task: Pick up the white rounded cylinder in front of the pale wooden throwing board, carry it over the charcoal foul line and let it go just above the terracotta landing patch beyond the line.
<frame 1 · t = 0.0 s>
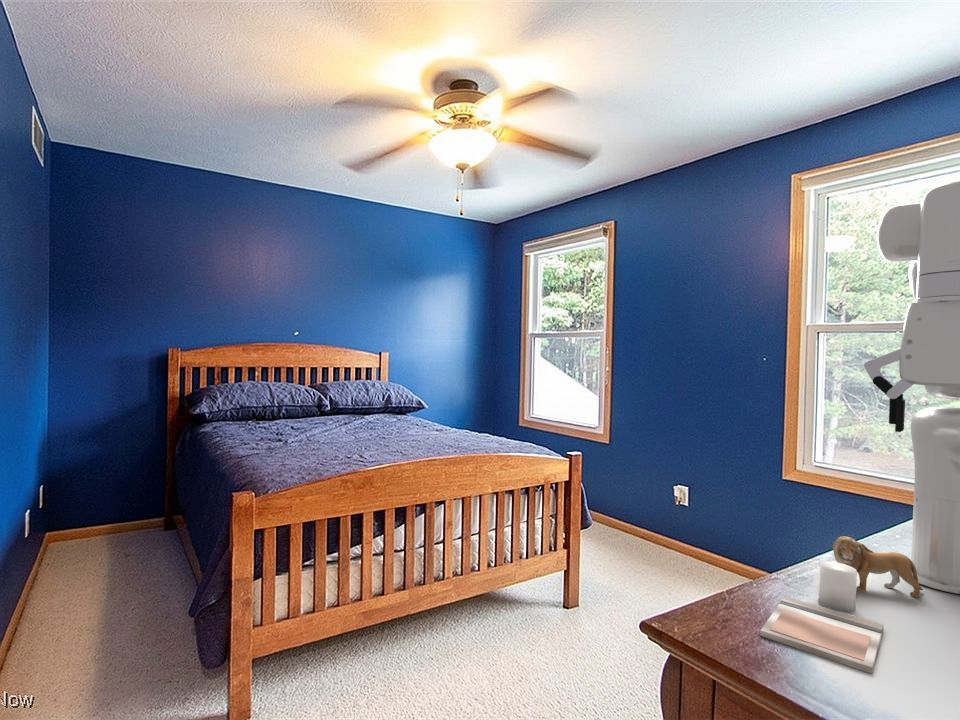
hand: (950, 435, 64), 31 cm above the dresser, tool pointing down, fingers open, 9 cm apart
lion figurine: (874, 591, 94), on the dresser
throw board: (822, 632, 79), on the dresser
white rounded cylinder: (836, 603, 88), on the dresser
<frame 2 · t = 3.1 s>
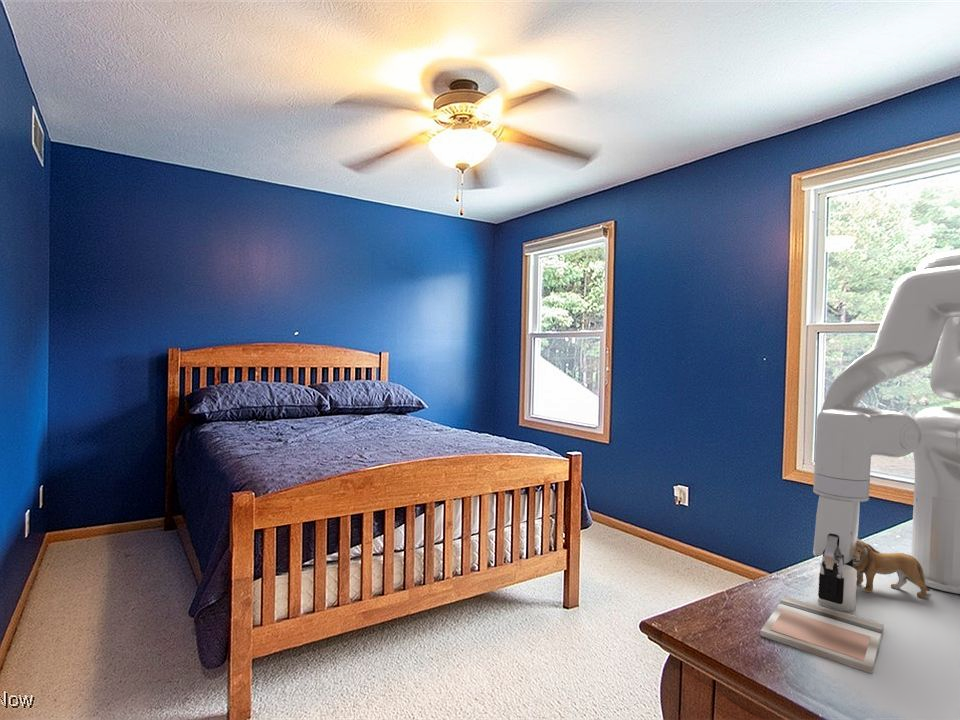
hand: (835, 591, 88), 2 cm above the dresser, tool pointing down, fingers open, 9 cm apart
lion figurine: (881, 592, 93), on the dresser, touching gripper
everything else where it was.
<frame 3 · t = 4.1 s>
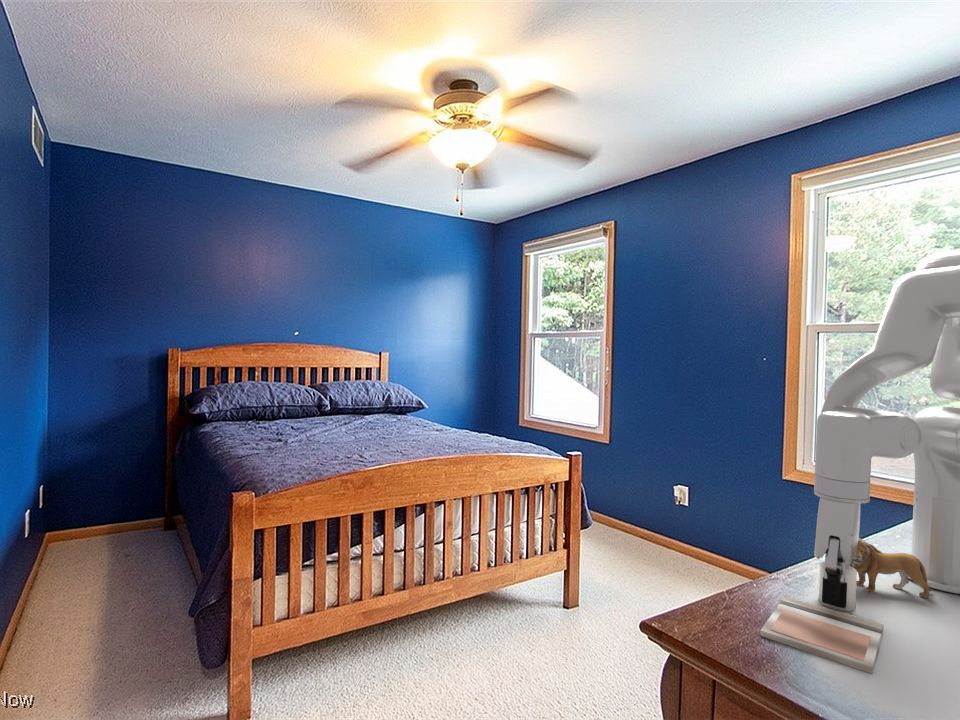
hand: (836, 597, 88), 1 cm above the dresser, tool pointing down, fingers closed on white rounded cylinder, 4 cm apart
lion figurine: (883, 592, 93), on the dresser
white rounded cylinder: (836, 603, 88), on the dresser, touching gripper
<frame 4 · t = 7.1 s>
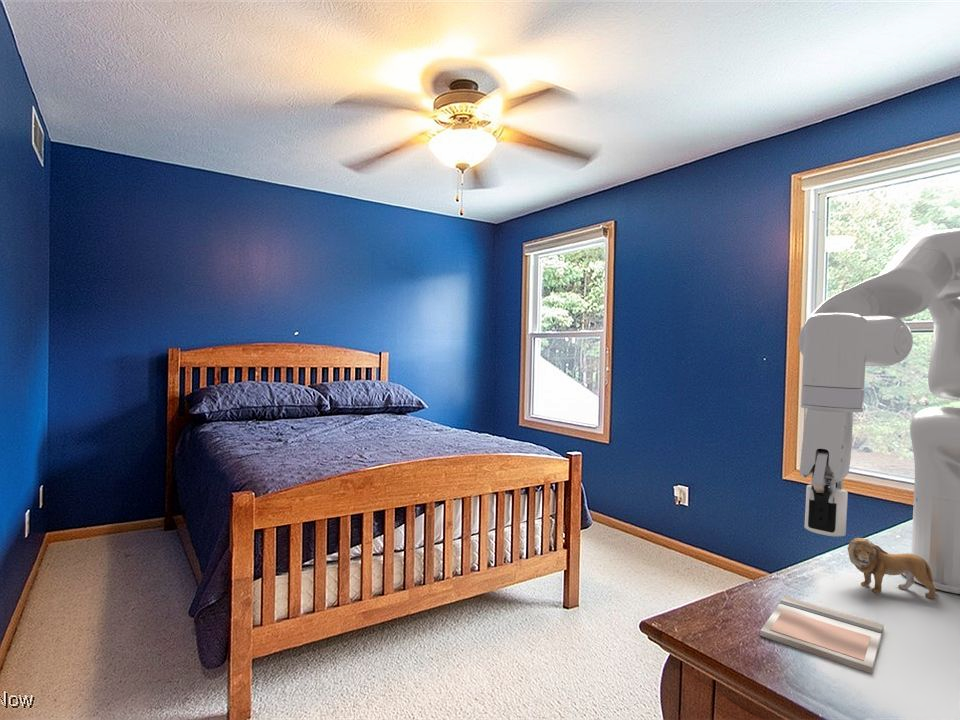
hand: (825, 524, 78), 16 cm above the dresser, tool pointing down, fingers closed on white rounded cylinder, 4 cm apart
white rounded cylinder: (824, 530, 78), point 15 cm above the dresser, touching gripper
everything else where it was.
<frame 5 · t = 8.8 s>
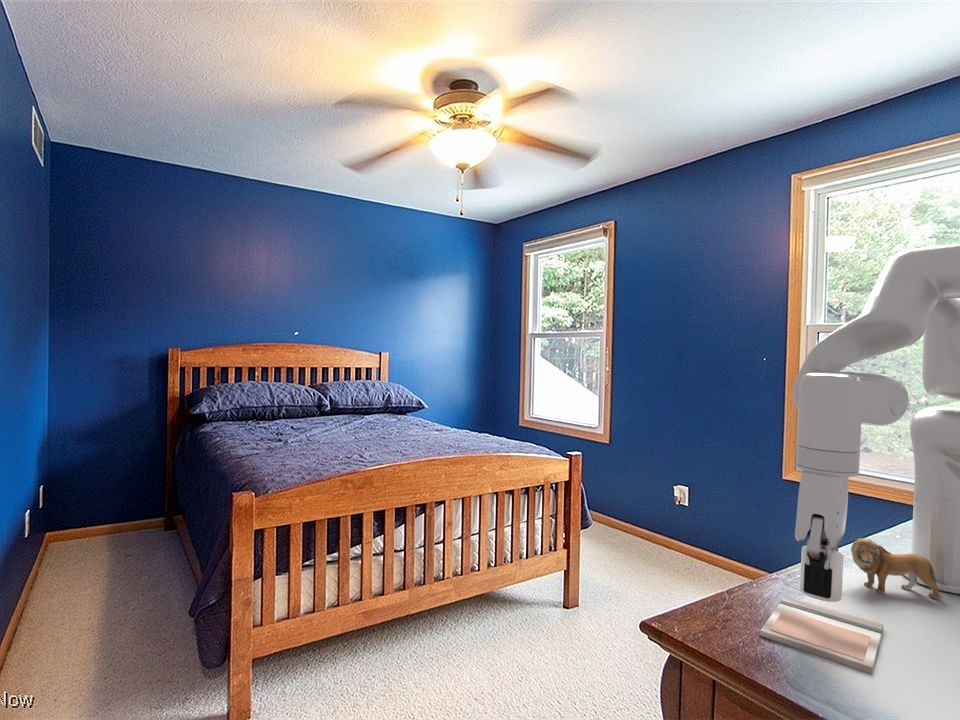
hand: (820, 587, 76), 8 cm above the dresser, tool pointing down, fingers closed on white rounded cylinder, 4 cm apart
white rounded cylinder: (820, 593, 76), point 7 cm above the dresser, touching gripper
when the fingers open (3 cm above the dresser, at t = 10.4 s): white rounded cylinder drops 1 cm, resting on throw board.
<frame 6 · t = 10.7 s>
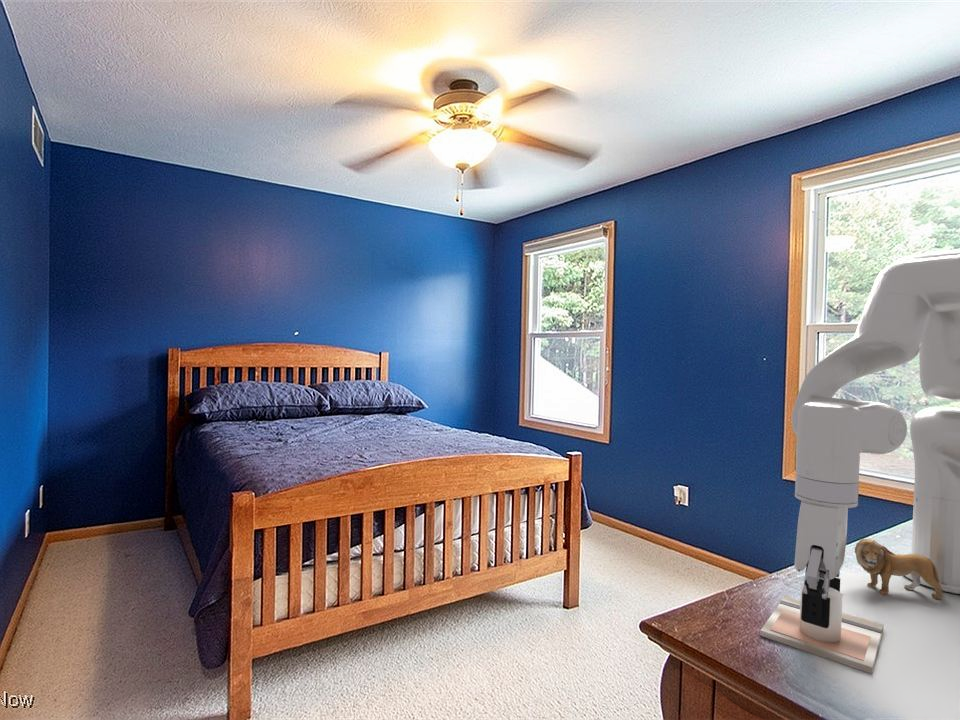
hand: (820, 612, 77), 4 cm above the dresser, tool pointing down, fingers open, 8 cm apart
white rounded cylinder: (819, 632, 77), point 1 cm above the dresser, touching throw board
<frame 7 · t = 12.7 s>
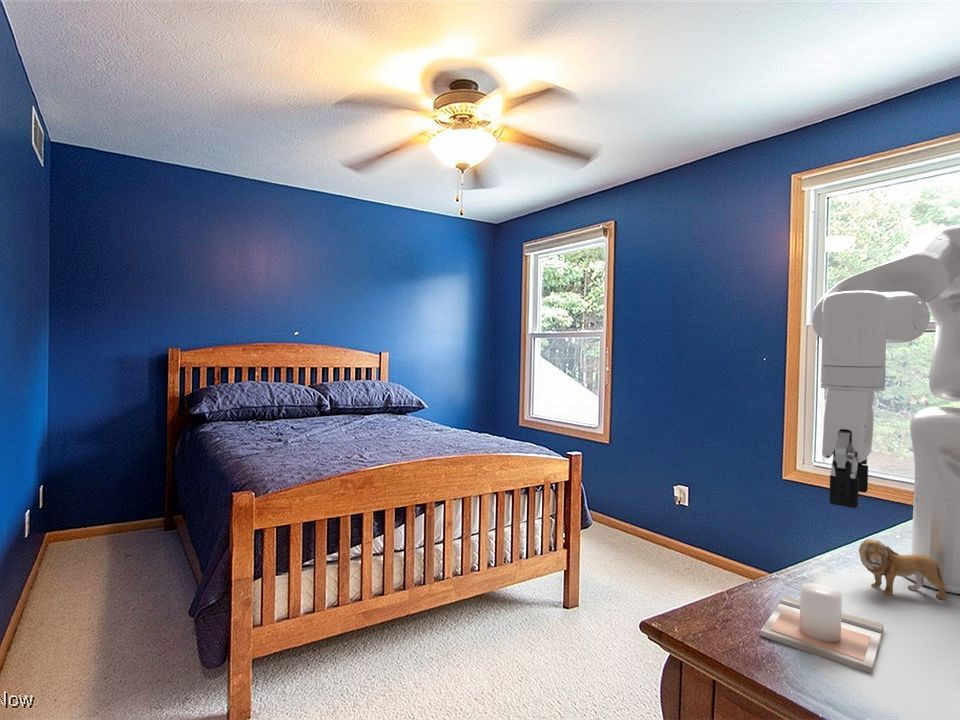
hand: (849, 497, 77), 20 cm above the dresser, tool pointing down, fingers open, 9 cm apart
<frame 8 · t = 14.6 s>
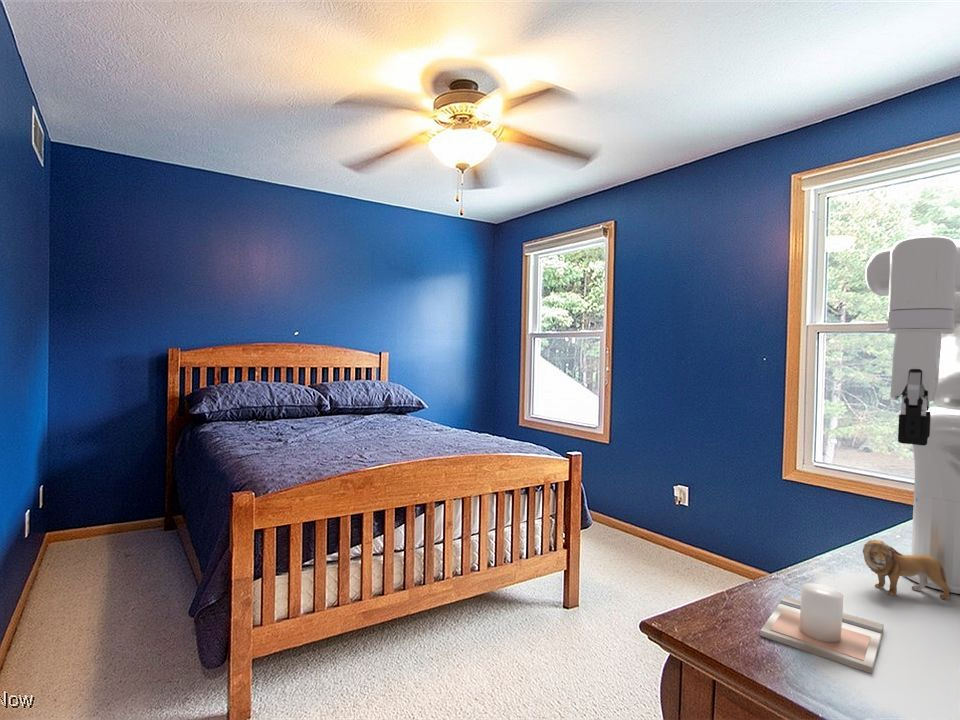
hand: (914, 440, 79), 28 cm above the dresser, tool pointing down, fingers open, 9 cm apart
at the end: white rounded cylinder inside the target area (1.0 cm from its centre), point 0.9 cm above the dresser; white rounded cylinder tilted 1°; the gripper is holding nothing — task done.
